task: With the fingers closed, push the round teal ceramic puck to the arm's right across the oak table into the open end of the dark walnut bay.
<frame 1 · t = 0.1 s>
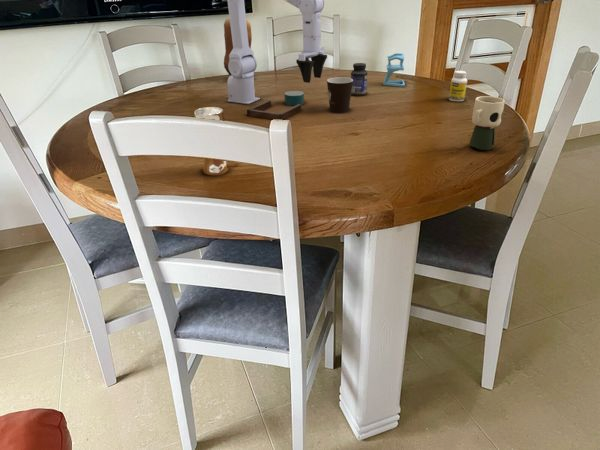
hand: (312, 79, 153), 10 cm above the table, tool pointing down, fingers open, 7 cm apart
walnut bay: (275, 112, 156), on the table
pill bottle: (358, 94, 175), on the table
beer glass: (215, 171, 114), on the table
supplement bottle: (456, 100, 165), on the table
teal puck: (294, 103, 166), on the table
chair: (393, 85, 187), on the table
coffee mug: (339, 109, 158), on the table
butternut squash: (241, 80, 201), on the table
character mug: (480, 148, 124), on the table
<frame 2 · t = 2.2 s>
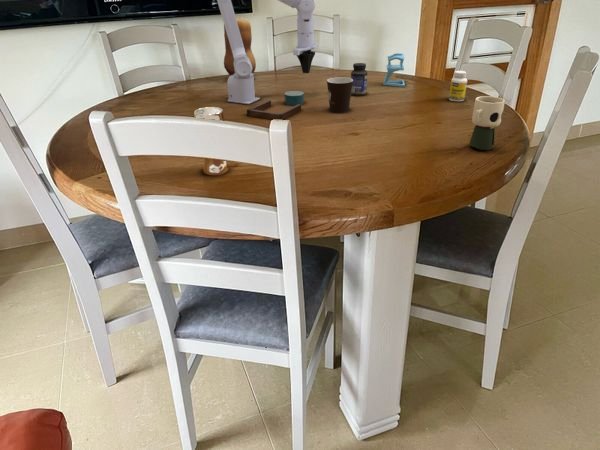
hand: (306, 72, 168), 9 cm above the table, tool pointing down, fingers closed
nothing on the table moved.
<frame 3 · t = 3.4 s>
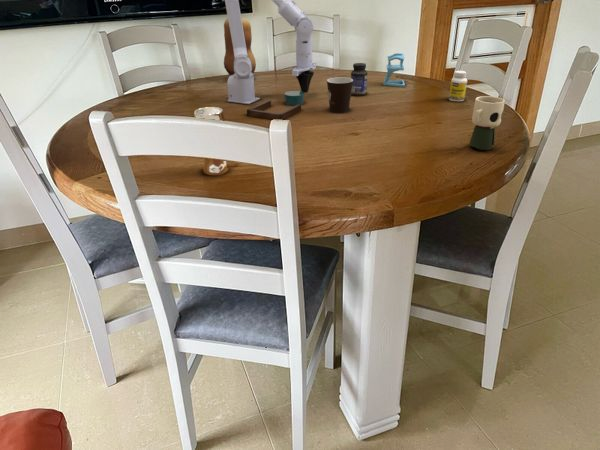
hand: (304, 92, 171), 2 cm above the table, tool pointing down, fingers closed
nothing on the table moved.
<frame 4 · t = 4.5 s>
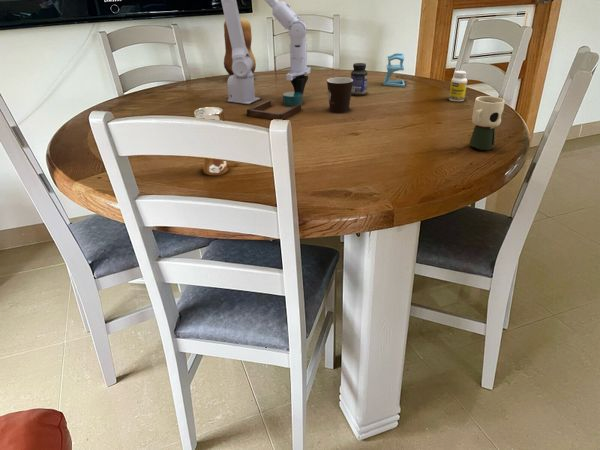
hand: (299, 96, 168), 1 cm above the table, tool pointing down, fingers closed
teal puck: (293, 103, 165), on the table, touching gripper
everything else where it was.
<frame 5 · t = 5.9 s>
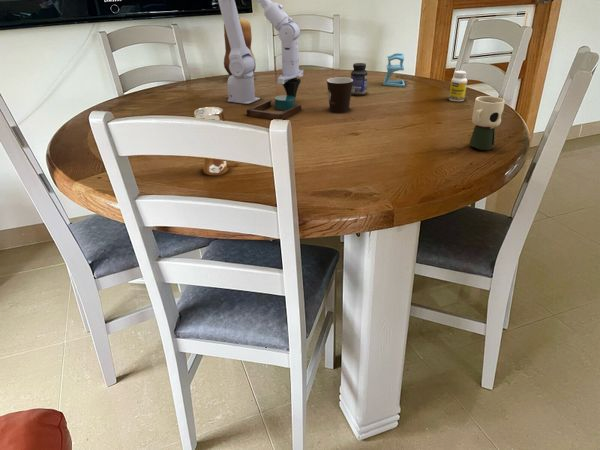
hand: (291, 100, 164), 1 cm above the table, tool pointing down, fingers closed
teal puck: (285, 107, 161), on the table, touching gripper
everything else where it was.
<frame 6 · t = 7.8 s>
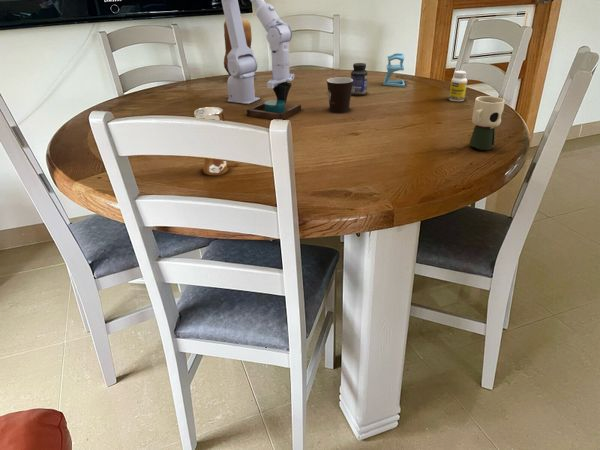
hand: (282, 105, 159), 1 cm above the table, tool pointing down, fingers closed
teal puck: (275, 112, 156), on the table, touching gripper
everything else where it was.
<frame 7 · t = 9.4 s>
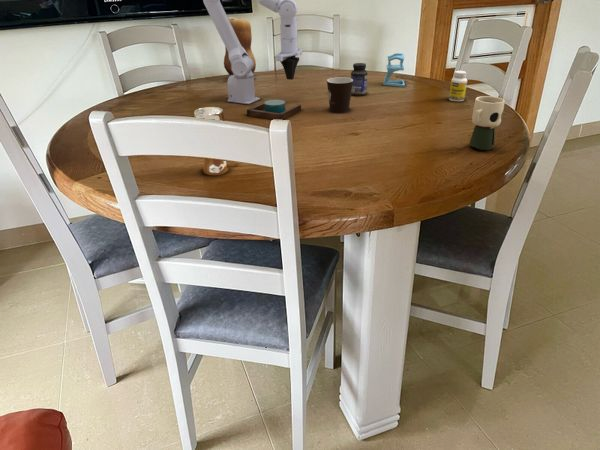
hand: (290, 79, 164), 8 cm above the table, tool pointing down, fingers closed
teal puck: (275, 112, 156), on the table
everything else where it was.
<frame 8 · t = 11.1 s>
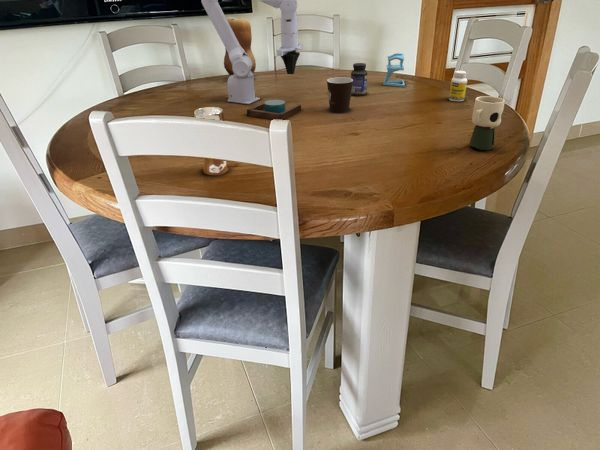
hand: (290, 73, 165), 9 cm above the table, tool pointing down, fingers closed
nothing on the table moved.
at the end: teal puck 0.0 cm off-centre on the walnut bay, point 0.0 cm above the walnut bay's base; teal puck tilted 0°; teal puck moved 13.2 cm from its start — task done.
